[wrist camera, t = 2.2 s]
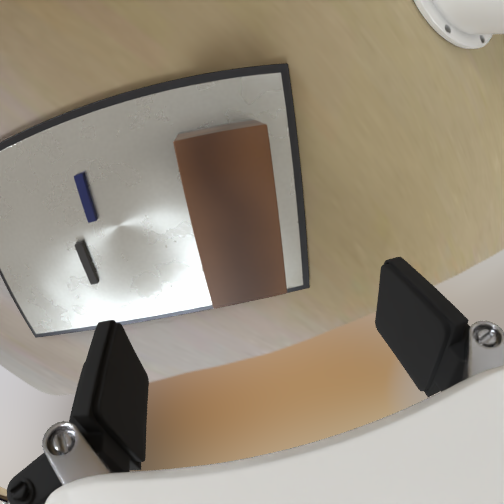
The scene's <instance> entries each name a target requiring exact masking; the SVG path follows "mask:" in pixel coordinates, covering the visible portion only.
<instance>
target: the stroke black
mask: <svg viewBox="0 0 504 504" xmlns="http://www.w3.org/2000/svg"><path fill="white" fill-rule="evenodd" d="M74 246H75V248H76V251H77V253H78V256H79V258H80V261H81V263H82V266H83V268H84V270H85V273H86V275H87V277H88V280H89V282H90V284H91V285H93V284H98V283H99V278H98V276H97V274H96V271H95V269H94V267H93V264H92V262H91V259H90V257H89V254H88V252H87V249H86V246H85V244H84V241H81V242H77V243H76V244H75V245H74Z"/></svg>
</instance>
